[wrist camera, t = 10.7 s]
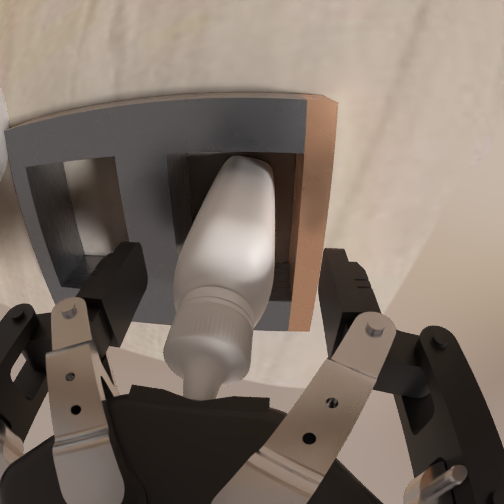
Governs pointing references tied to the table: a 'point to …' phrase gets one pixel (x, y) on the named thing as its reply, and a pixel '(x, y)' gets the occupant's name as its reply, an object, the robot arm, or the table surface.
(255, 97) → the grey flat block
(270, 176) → the eye dropper bottle
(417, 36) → the table surface
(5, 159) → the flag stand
